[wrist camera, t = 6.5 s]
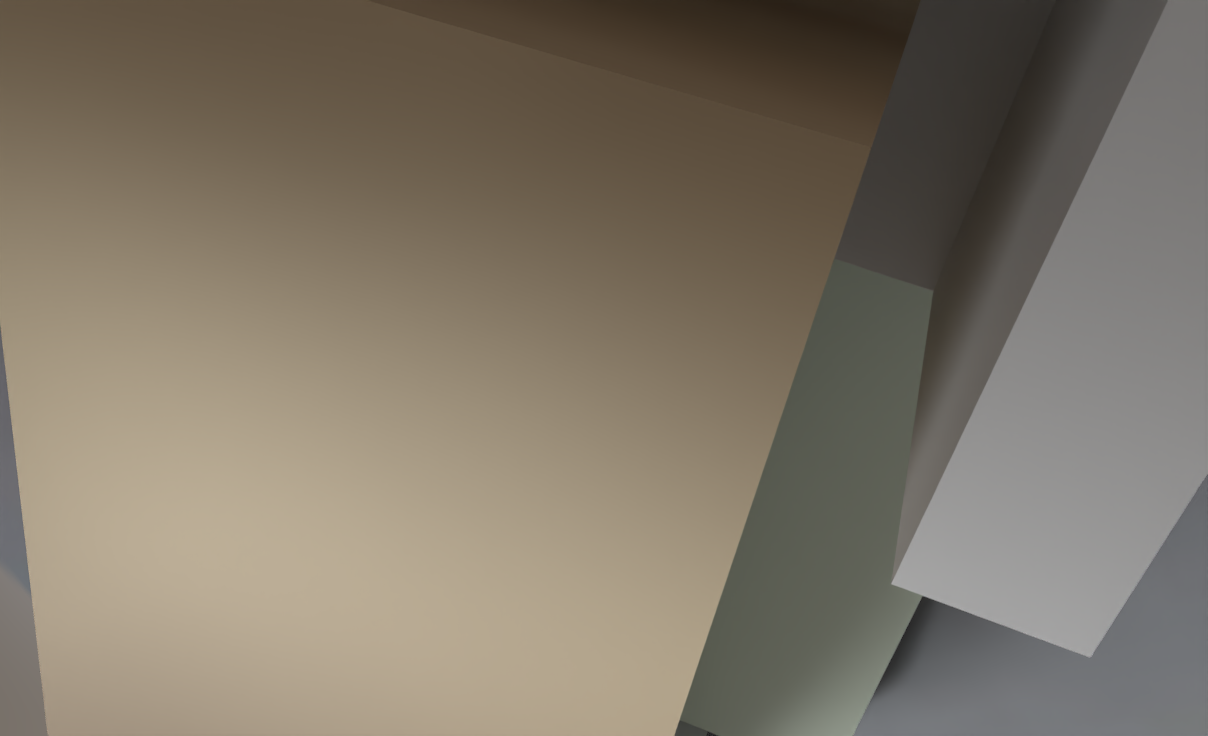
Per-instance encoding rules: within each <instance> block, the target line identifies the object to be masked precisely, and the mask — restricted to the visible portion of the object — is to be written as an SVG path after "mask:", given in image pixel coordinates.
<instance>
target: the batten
mask: <svg viewBox="0 0 1208 736" xmlns="http://www.w3.org/2000/svg"><path fill="white" fill-rule="evenodd" d="M920 1H921V0H0V325H1V334H2V343H3V351H4V360H5V369H6V377H7V386H8V395H9V403H10V412H11V421H12V429H13V438H14V447H15V455H16V464H17V473H18V481H19V490H20V499H21V507H22V516H23V525H24V533H25V542H26V551H27V559H28V568H29V577H30V585H31V594H32V603H33V611H34V619H35V628H36V636H37V646H38V655H39V663H40V672H41V681H42V689H43V698H44V707H45V715H46V724H47V733H48V736H674V735H675V732H676V729H677V726H678V723H679V720H680V717H681V714H682V711H683V708H684V705H685V702H686V699H687V696H688V693H689V690H690V687H691V684H692V681H693V678H694V675H695V672H696V669H697V666H698V663H699V660H700V657H701V654H702V651H703V648H704V645H705V642H706V639H707V636H708V633H709V630H710V627H711V624H712V621H713V618H714V615H715V613H716V610H717V607H718V604H719V601H720V598H721V595H722V592H723V589H724V586H725V583H726V580H727V577H728V574H729V571H730V568H731V565H732V562H733V559H734V556H735V553H736V550H737V547H738V544H739V541H740V538H741V535H742V532H743V529H744V526H745V523H746V520H747V517H748V514H749V511H750V508H751V505H752V502H753V499H754V496H755V493H756V490H757V487H758V484H759V481H760V478H761V475H762V472H763V469H764V466H765V463H766V460H767V457H768V454H769V451H770V448H771V446H772V443H773V440H774V437H775V434H776V431H777V428H778V425H779V422H780V419H781V416H782V413H783V410H784V407H785V404H786V401H787V398H788V395H789V392H790V389H791V386H792V383H793V380H794V377H795V374H796V371H797V368H798V365H799V362H800V359H801V356H802V353H803V350H804V347H805V344H806V341H807V338H808V335H809V332H810V329H811V326H812V323H813V320H814V317H815V314H816V311H817V308H818V305H819V302H820V299H821V296H822V293H823V290H824V287H825V284H826V281H827V279H828V276H829V273H830V270H831V267H832V264H833V261H834V258H835V255H836V252H837V249H838V246H839V243H840V240H841V237H842V234H843V231H844V228H845V225H846V222H847V219H848V216H849V213H850V210H851V207H852V204H853V201H854V198H855V195H856V192H857V189H858V186H859V183H860V180H861V177H862V174H863V171H864V168H865V165H866V162H867V159H868V156H869V153H870V150H871V147H872V144H873V141H874V138H875V135H876V132H877V129H878V126H879V123H880V120H881V117H882V114H883V111H884V108H885V105H886V102H887V99H888V96H889V94H890V91H891V88H892V85H893V82H894V79H895V76H896V73H897V70H898V67H899V64H900V61H901V58H902V55H903V52H904V49H905V46H906V43H907V40H908V37H909V34H910V31H911V28H912V25H913V22H914V19H915V16H916V13H917V10H918V7H919V4H920Z"/></svg>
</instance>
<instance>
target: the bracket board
mask: <svg viewBox="0 0 1208 736" xmlns="http://www.w3.org/2000/svg"><path fill="white" fill-rule="evenodd" d="M1207 474H1208V0H921V1H920V4H919V7H918V10H917V13H916V16H915V19H914V22H913V25H912V28H911V31H910V34H909V37H908V40H907V43H906V46H905V49H904V52H903V55H902V58H901V61H900V64H899V67H898V70H897V73H896V76H895V79H894V82H893V85H892V88H891V91H890V94H889V96H888V99H887V102H886V105H885V108H884V111H883V114H882V117H881V120H880V123H879V126H878V129H877V132H876V135H875V138H874V141H873V144H872V147H871V150H870V153H869V156H868V159H867V162H866V165H865V168H864V171H863V174H862V177H861V180H860V183H859V186H858V189H857V192H856V195H855V198H854V201H853V204H852V207H851V210H850V213H849V216H848V219H847V222H846V225H845V228H844V231H843V234H842V237H841V240H840V243H839V246H838V249H837V252H836V255H835V258H834V261H833V264H832V267H831V270H830V273H829V276H828V279H827V281H826V284H825V287H824V290H823V293H822V296H821V299H820V302H819V305H818V308H817V311H816V314H815V317H814V320H813V323H812V326H811V329H810V332H809V335H808V338H807V341H806V344H805V347H804V350H803V353H802V356H801V359H800V362H799V365H798V368H797V371H796V374H795V377H794V380H793V383H792V386H791V389H790V392H789V395H788V398H787V401H786V404H785V407H784V410H783V413H782V416H781V419H780V422H779V425H778V428H777V431H776V434H775V437H774V440H773V443H772V446H771V448H770V451H769V454H768V457H767V460H766V463H765V466H764V469H763V472H762V475H761V478H760V481H759V484H758V487H757V490H756V493H755V496H754V499H753V502H752V505H751V508H750V511H749V514H748V517H747V520H746V523H745V526H744V529H743V532H742V535H741V538H740V541H739V544H738V547H737V550H736V553H735V556H734V559H733V562H732V565H731V568H730V571H729V574H728V577H727V580H726V583H725V586H724V589H723V592H722V595H721V598H720V601H719V604H718V607H717V610H716V613H715V615H714V618H713V621H712V624H711V627H710V630H709V633H708V636H707V639H706V642H705V645H704V648H703V651H702V654H701V657H700V660H699V663H698V666H697V669H696V672H695V675H694V678H693V681H692V684H691V687H690V690H689V693H688V696H687V699H686V702H685V705H684V708H683V711H682V714H681V717H680V720H679V723H678V726H677V729H676V732H675V735H674V736H706V735H707V732H711V733H713V734H716V735H718V736H853V734H854V732H855V730H856V728H857V726H858V724H859V722H860V720H861V718H862V716H863V714H864V712H865V710H866V708H867V706H868V704H869V702H870V700H871V698H872V696H873V694H874V692H875V690H876V688H877V686H878V684H879V682H880V680H881V678H882V676H883V674H884V672H885V670H886V668H887V666H888V664H889V662H890V660H891V658H892V656H893V654H894V652H895V650H896V648H897V646H898V644H899V642H900V640H901V638H902V636H903V634H904V632H905V630H906V628H907V626H908V624H909V622H910V620H911V618H912V616H913V614H914V612H915V610H916V608H917V606H918V604H919V602H920V600H921V598H922V596H925V597H928V598H930V599H933V600H936V601H938V602H941V603H944V604H946V605H949V606H952V607H955V608H957V609H960V610H963V611H965V612H968V613H971V614H974V615H976V616H979V617H982V618H984V619H987V620H990V621H993V622H995V623H998V624H1001V625H1003V626H1006V627H1009V628H1011V629H1014V630H1017V631H1020V632H1022V633H1025V634H1028V635H1030V636H1033V637H1036V638H1039V639H1041V640H1044V641H1047V642H1049V643H1052V644H1055V645H1057V646H1060V647H1063V648H1066V649H1068V650H1071V651H1074V652H1076V653H1079V654H1082V655H1085V656H1087V657H1091V656H1092V654H1093V653H1094V651H1095V650H1096V648H1097V646H1098V645H1099V643H1100V642H1101V640H1102V639H1103V637H1104V635H1105V634H1106V632H1107V631H1108V629H1109V628H1110V626H1111V624H1112V623H1113V621H1114V620H1115V618H1116V617H1117V615H1118V613H1119V612H1120V610H1121V609H1122V607H1123V606H1124V604H1125V602H1126V601H1127V599H1128V598H1129V596H1130V595H1131V593H1132V592H1133V590H1134V588H1135V587H1136V585H1137V584H1138V582H1139V581H1140V579H1141V577H1142V576H1143V574H1144V573H1145V571H1146V570H1147V568H1148V566H1149V565H1150V563H1151V562H1152V560H1153V559H1154V557H1155V555H1156V554H1157V552H1158V551H1159V549H1160V548H1161V546H1162V544H1163V543H1164V541H1165V540H1166V538H1167V537H1168V535H1169V533H1170V532H1171V530H1172V529H1173V527H1174V526H1175V524H1176V522H1177V521H1178V519H1179V518H1180V516H1181V515H1182V513H1183V511H1184V510H1185V508H1186V507H1187V505H1188V504H1189V502H1190V500H1191V499H1192V497H1193V496H1194V494H1195V493H1196V491H1197V489H1198V488H1199V486H1200V485H1201V483H1202V482H1203V480H1204V478H1205V477H1206V475H1207Z"/></svg>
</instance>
